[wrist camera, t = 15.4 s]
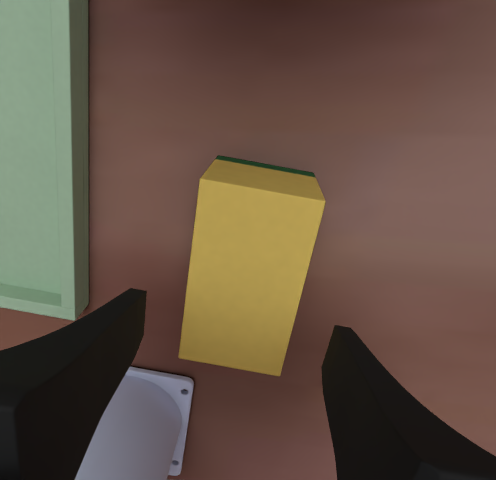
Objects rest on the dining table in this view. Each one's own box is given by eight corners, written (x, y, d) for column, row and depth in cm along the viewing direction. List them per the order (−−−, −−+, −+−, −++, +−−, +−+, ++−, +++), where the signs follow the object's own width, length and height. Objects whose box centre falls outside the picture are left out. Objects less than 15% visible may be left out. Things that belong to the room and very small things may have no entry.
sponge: (279, 317, 23) (279, 377, 18) (197, 302, 23) (178, 358, 18) (314, 172, 19) (326, 201, 15) (217, 154, 19) (199, 178, 15)
